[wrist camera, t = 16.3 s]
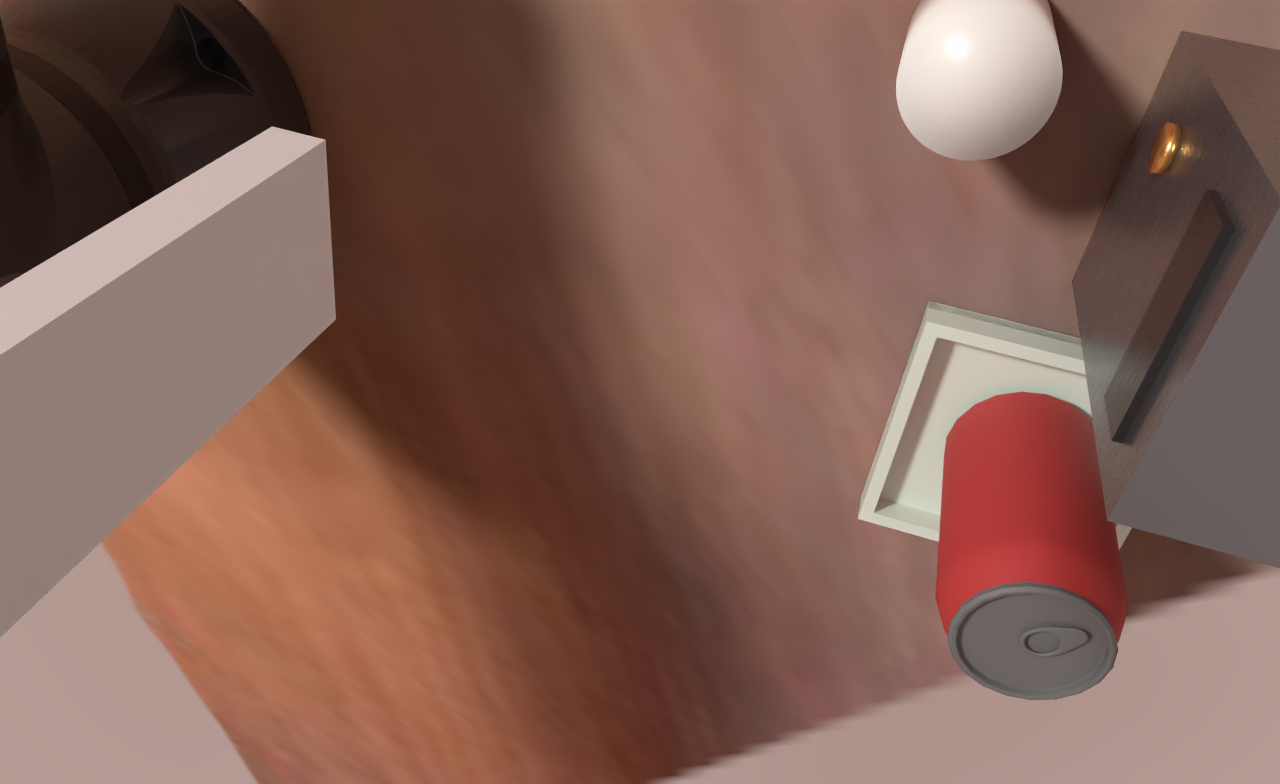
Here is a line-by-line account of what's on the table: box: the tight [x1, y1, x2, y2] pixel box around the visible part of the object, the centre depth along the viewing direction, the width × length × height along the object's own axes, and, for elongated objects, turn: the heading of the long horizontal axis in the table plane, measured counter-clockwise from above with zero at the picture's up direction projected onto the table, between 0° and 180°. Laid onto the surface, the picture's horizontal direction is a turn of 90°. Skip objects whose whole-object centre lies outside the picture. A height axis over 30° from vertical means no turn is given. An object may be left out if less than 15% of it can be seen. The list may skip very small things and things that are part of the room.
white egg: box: [896, 0, 1063, 161], centre depth 34 cm, size 5×5×6 cm
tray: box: [858, 301, 1132, 550], centre depth 45 cm, size 11×11×2 cm
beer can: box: [936, 392, 1128, 700], centre depth 40 cm, size 7×7×12 cm
